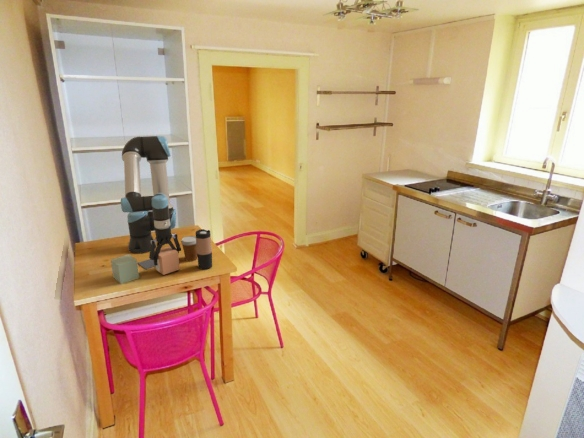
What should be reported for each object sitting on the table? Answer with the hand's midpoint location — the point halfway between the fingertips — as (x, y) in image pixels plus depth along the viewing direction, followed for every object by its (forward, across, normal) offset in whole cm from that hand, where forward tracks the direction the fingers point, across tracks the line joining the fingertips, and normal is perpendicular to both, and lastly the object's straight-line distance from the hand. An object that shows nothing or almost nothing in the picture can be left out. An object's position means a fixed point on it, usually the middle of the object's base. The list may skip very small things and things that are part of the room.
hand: (167, 267), depth 192 cm
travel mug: (+2, +17, -9) cm, 19 cm away
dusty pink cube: (+1, 0, 0) cm, 1 cm away
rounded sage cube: (+2, -18, +8) cm, 20 cm away
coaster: (+2, -2, +15) cm, 15 cm away
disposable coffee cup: (+3, +17, +5) cm, 18 cm away
